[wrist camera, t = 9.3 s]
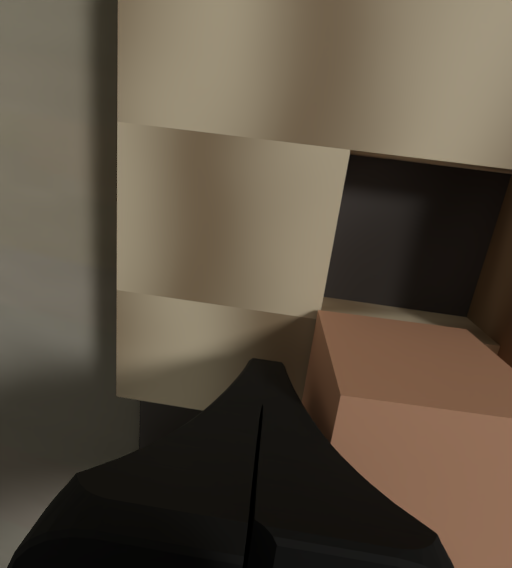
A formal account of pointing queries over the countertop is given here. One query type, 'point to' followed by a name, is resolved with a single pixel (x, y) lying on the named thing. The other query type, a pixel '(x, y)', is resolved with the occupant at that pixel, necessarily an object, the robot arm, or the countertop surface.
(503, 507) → the block
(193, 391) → the cubby shelf
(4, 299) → the countertop surface
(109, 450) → the countertop surface
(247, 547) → the robot arm
